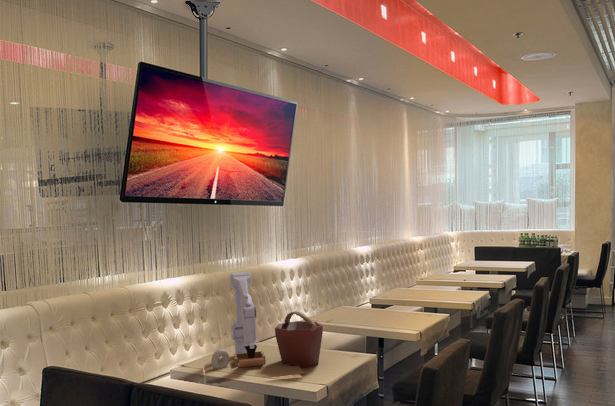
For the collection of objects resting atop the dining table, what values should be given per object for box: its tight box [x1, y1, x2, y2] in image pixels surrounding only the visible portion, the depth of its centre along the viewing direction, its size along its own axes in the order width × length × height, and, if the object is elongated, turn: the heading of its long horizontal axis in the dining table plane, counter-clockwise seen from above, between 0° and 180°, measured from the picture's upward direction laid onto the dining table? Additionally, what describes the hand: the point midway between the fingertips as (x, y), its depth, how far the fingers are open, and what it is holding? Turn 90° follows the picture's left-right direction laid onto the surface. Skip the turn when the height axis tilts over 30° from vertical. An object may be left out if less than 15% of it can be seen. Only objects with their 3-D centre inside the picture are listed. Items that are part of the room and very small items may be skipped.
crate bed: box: [233, 350, 266, 368], centre depth 283 cm, size 11×14×5 cm
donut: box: [210, 348, 230, 370], centre depth 277 cm, size 10×3×10 cm, turn 137°
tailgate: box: [237, 357, 265, 368], centre depth 274 cm, size 1×12×7 cm
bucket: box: [274, 311, 324, 370], centre depth 280 cm, size 24×22×25 cm
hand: (251, 361), depth 274 cm, fingers closed, pressing on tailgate
